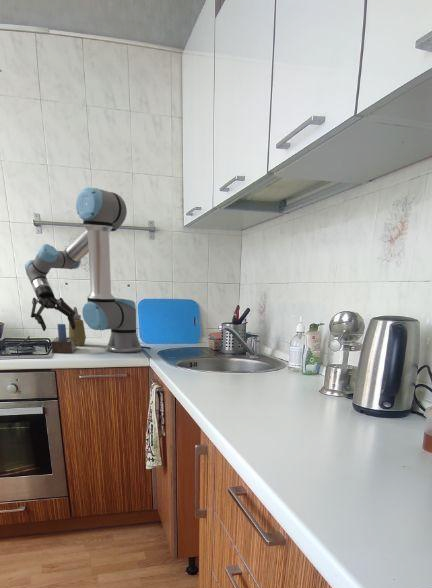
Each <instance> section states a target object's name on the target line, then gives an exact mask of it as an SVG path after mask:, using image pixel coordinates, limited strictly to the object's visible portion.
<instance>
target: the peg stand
mask: <svg viewBox="0 0 432 588" xmlns="http://www.w3.org/2000/svg"><path fill="white" fill-rule="evenodd" d="M66 337H67V336H66ZM50 343H51V353H52V354H73V353H75V351H76V350H77V346H76V338H75V337H69V336H68V337H67V341H59V337H58V336H56V337H55V338H54V339H53V340H51V342H50Z"/></svg>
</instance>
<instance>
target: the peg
mask: <svg viewBox="0 0 432 588" xmlns="http://www.w3.org/2000/svg"><path fill="white" fill-rule="evenodd" d="M56 325H57V337H59V341H67V326H66V324H65V323H57V324H56Z"/></svg>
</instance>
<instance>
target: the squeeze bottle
mask: <svg viewBox="0 0 432 588" xmlns="http://www.w3.org/2000/svg"><path fill="white" fill-rule="evenodd" d="M73 310H74V311H75V315H74V317H73V318H74V320H75V321H74V323H75V329H74V330H72V327H71V325H70V323H69V322H68V337H75V338H76V347H82V346H85V342H86V339H87V336H86V331H85V324H84V319H82V314H79V312H78V308H77V306H73Z"/></svg>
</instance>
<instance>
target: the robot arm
mask: <svg viewBox="0 0 432 588" xmlns="http://www.w3.org/2000/svg"><path fill="white" fill-rule="evenodd" d="M75 209H76V213H77V215H78V216H79V217H80V219H81V220H82V221H83V222H82V224H83V227H84V228H85V229H84V230H83V231H82V232H81V233H80V234H79V235H78V236H77V237H76V238H75V239H74V240H73V241H72V242H71V243H70V244H69V245H68V246H67V247H66V248H64V249H63V250H57V249H56V248H55V247H54V246H53V245H50V244H48V243H44V244H42V246H41V248H40V249H39V250H38V252H37V254H36V255H35V258H34V259H31V260H28V261H27V262H26V263H25V264H24V270H25V273H26V276H27V279H28V280H29V282H30V285H31V286H32V290H33V291H34V293H35V296H36V297H32V301H31V304H32V307H31V308H32V309H31V312H30V318H32V319H33V318H34V320H35V321H37V324H39V325H40V326H41V329H42V331H43V332H46V329H47V325H46V323H45V321H44V318H43V316H42V312H43V311H44V310H45V309H48V310H49V309H52V310H53V309H54V310H56V311H58V312H60V313H61V314H63V315H64V316H66V317H67V321H68V324H69V323H70V325H71V327H72V330H74V329H75V323H74V321H75V320H74V318H73V317H74V315H75V311H74V308H72V307H71V306H69V304H68V303H67V302H65V300H64V298H62V297H59V298H56V297H55V293H54V292H53V289H52V287H51V285H50V282H49V280H48V278H47V275H48V274H49V272H50V271H51V269H65V270H75V269H79V267H80V266H81V263H82V261H81V260H82V259H83V258H84V257H85V256H86V255H87V254H88V265H89V285H90V286H89V287H90V293H89V294H88V296H87V297H86V298H87V299H86V300H87V302H86V303H85V304H83V307H82V311H81V312H82V313H81V315H82V318H83V322H84V323H85V324H86V325H87V327H88V328H89V329H91V330H93V331H105V330H110V337H109V341H108V343H107V351H108V352H111V353H120V354H121V353H122V354H123V353H124V354H127V353H128V354H131V353H139V352H141V351H142V350H141V349H148V350H151V348H152V347H151V346H150V347H149V346H142V345H141V344H140V341H139V337H138V334H137V306H136V302H135V301H134V300H133V299H125V298H118V297H117V298H116V297H115V296H114V295H113V294H112V278H111V275H112V274H111V252H110V250H111V249H110V247H111V246H110V233H111V232H116V231H118V229H119V228H120V227H121V226H122V225H123V223H124V222H125V220H126V218H127V213H128V210H127V205H126V202H125V200H124V199H123V197H122V196H120V195H119V194H118V193H116V192H113V191H108V190H104V189H99V188H97V187H85V188H83V189H82V190H81V191H80V192H79V193H78V195H77V197H76V202H75ZM38 304H39V305H40V306H39V308H38V310H37V311H36V308H37V305H38Z"/></svg>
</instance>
